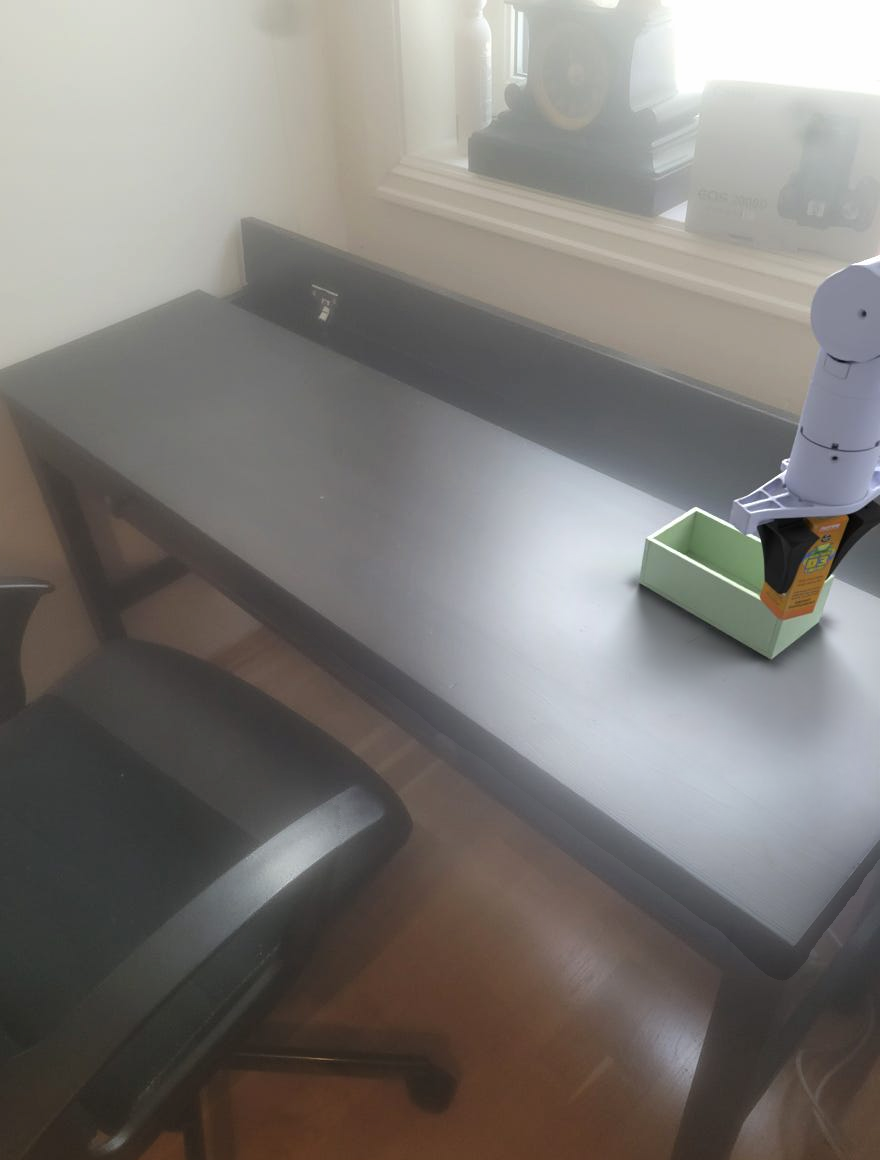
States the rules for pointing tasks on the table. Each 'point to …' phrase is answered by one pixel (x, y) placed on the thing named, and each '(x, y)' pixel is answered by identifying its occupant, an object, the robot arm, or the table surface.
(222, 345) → the table surface
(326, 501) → the table surface
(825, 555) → the supplement box
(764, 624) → the storage bin
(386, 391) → the table surface
